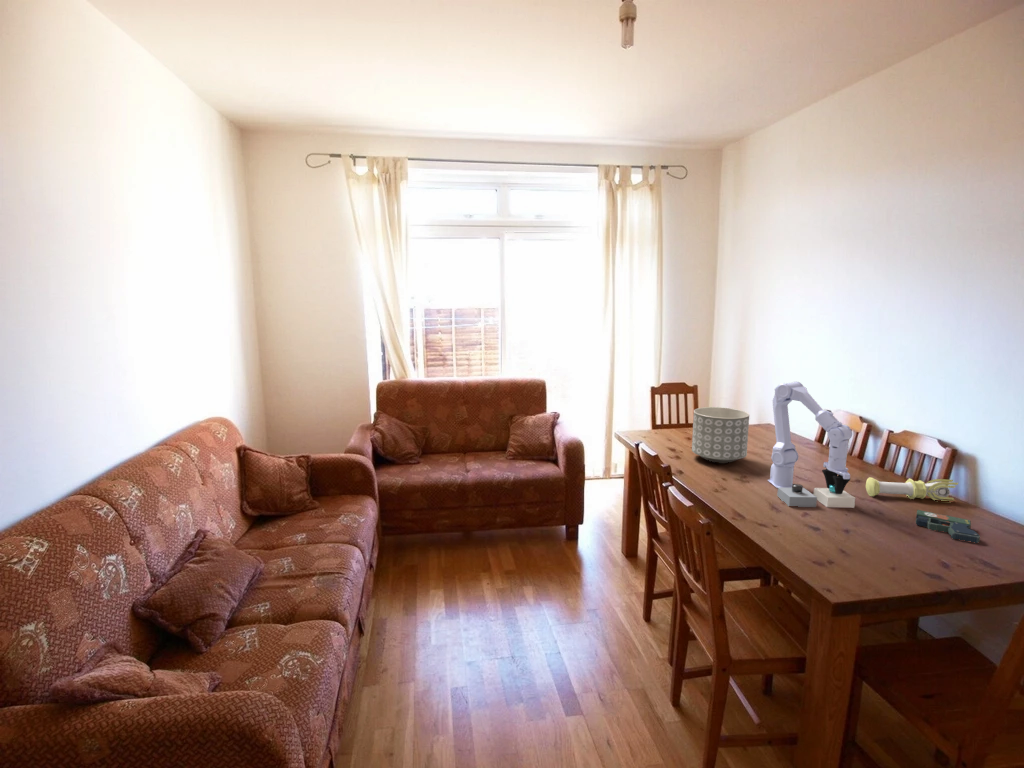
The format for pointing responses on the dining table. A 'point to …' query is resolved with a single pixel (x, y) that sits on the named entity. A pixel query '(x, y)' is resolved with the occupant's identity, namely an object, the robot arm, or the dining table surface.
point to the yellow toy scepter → (912, 488)
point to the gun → (947, 525)
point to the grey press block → (797, 497)
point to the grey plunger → (797, 488)
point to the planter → (720, 434)
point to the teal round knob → (832, 488)
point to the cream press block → (834, 498)
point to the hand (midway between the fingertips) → (834, 490)
